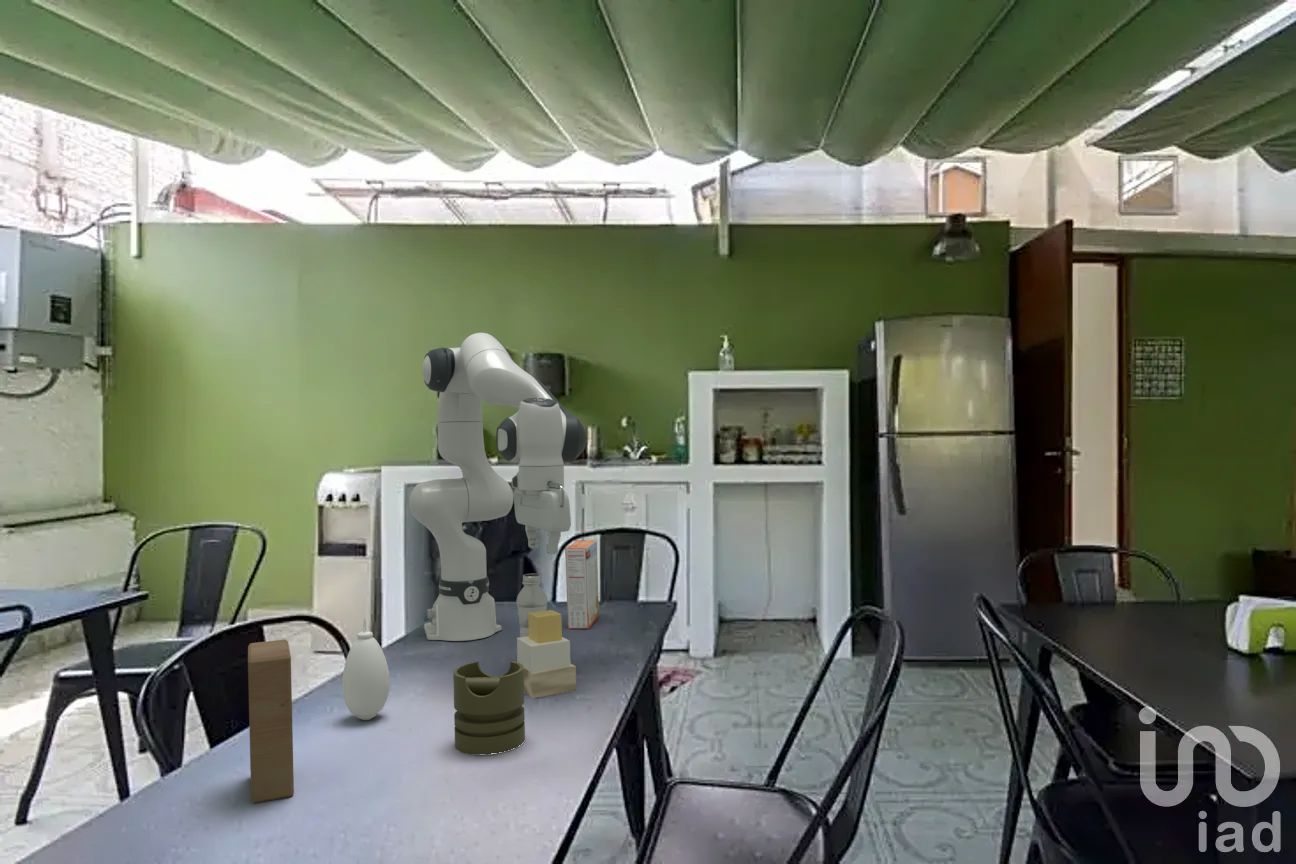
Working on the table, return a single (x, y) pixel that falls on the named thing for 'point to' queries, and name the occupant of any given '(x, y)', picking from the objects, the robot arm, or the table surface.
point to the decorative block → (270, 720)
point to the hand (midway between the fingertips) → (542, 550)
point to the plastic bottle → (530, 601)
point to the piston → (488, 709)
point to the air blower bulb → (365, 677)
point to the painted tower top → (543, 654)
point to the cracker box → (582, 584)
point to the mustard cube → (545, 626)
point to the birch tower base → (550, 681)
